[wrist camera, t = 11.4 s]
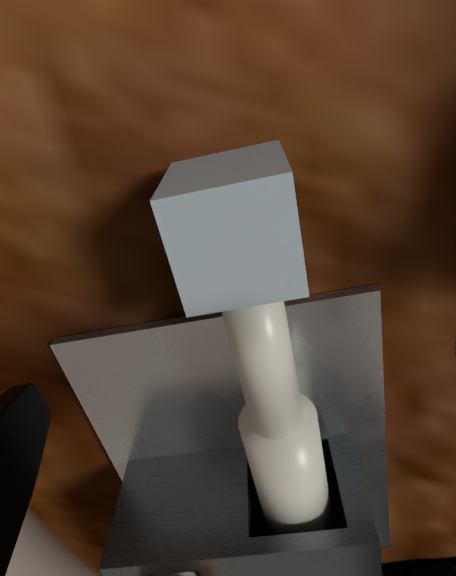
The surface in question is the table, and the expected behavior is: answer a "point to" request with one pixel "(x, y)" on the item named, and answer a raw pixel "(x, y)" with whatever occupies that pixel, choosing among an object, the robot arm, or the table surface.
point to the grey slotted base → (234, 441)
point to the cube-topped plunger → (251, 311)
